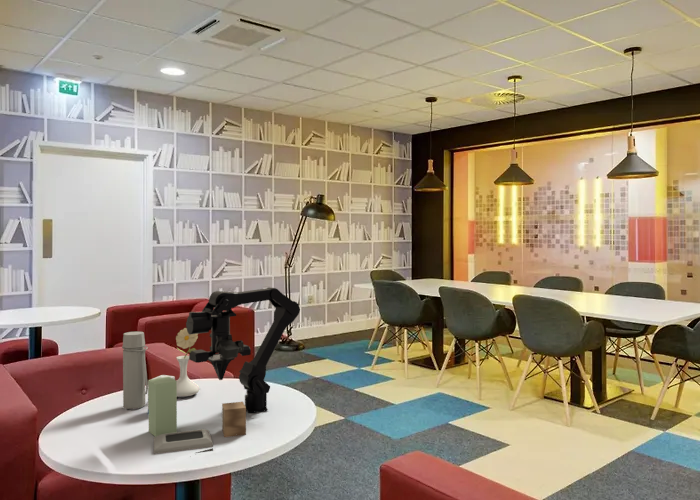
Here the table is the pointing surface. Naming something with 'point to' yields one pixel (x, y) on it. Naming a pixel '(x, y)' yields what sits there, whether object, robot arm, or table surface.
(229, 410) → the walnut block
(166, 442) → the grey tray
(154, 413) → the sage key
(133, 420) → the table surface
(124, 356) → the water bottle
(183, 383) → the flower in vase
